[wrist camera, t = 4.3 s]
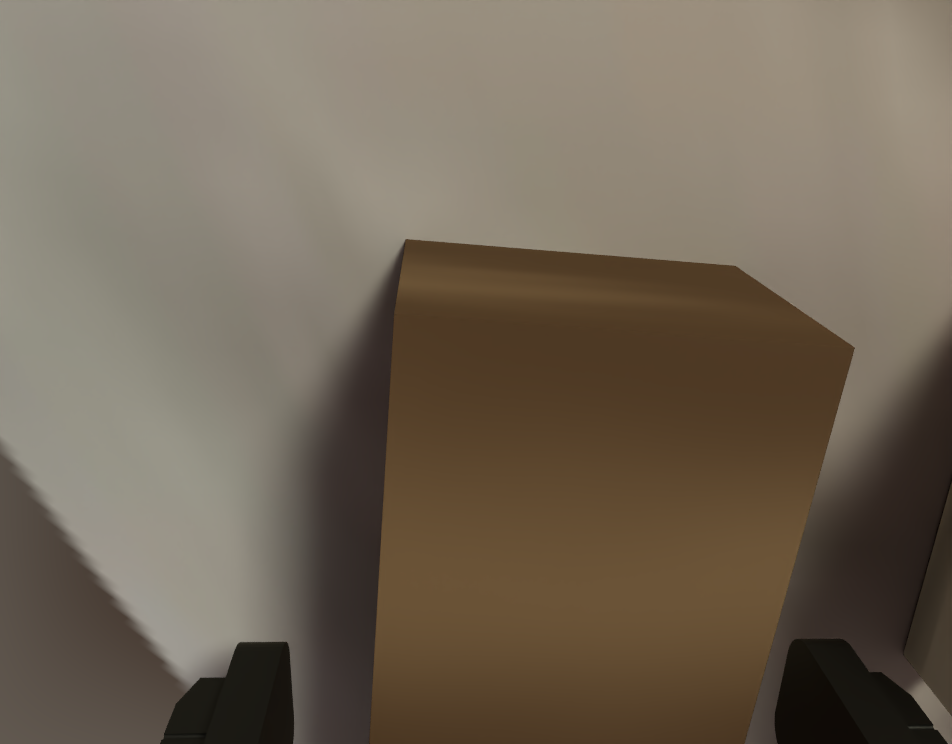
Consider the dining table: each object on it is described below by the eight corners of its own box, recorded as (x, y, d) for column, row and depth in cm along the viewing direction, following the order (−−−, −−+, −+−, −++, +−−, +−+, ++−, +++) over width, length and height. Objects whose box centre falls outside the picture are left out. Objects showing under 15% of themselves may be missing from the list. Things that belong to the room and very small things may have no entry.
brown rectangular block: (603, 856, 17) (650, 1078, 13) (368, 851, 17) (349, 1078, 13) (728, 261, 12) (855, 348, 9) (406, 235, 12) (394, 314, 8)
